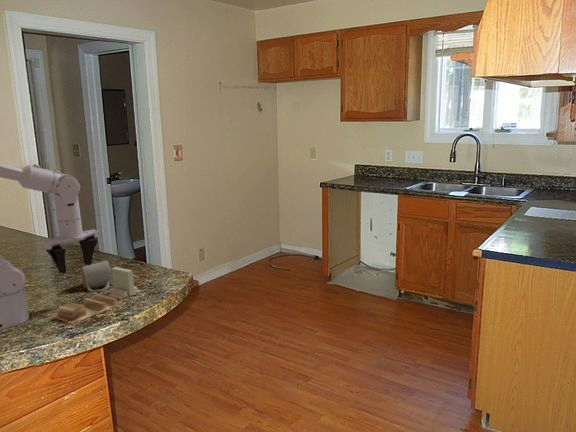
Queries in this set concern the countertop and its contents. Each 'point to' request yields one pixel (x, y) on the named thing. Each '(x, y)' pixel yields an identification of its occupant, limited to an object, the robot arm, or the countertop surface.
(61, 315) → the offcut low
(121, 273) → the pale green square slab
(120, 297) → the stand
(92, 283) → the ceramic mug
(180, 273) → the countertop surface
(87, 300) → the rack
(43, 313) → the countertop surface
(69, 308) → the offcut top
